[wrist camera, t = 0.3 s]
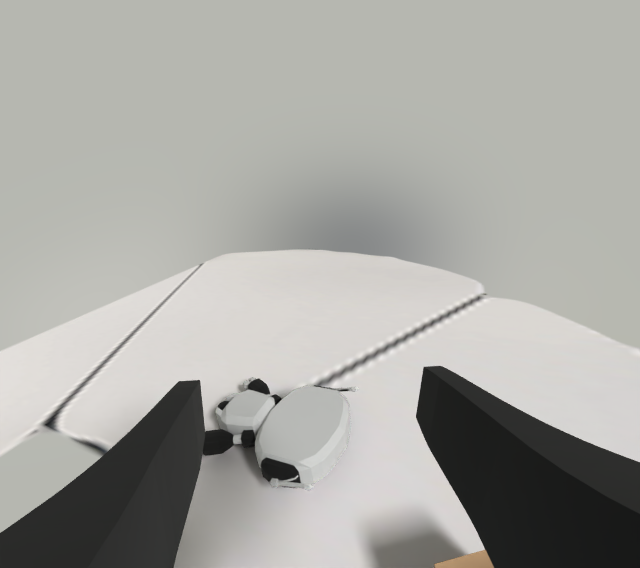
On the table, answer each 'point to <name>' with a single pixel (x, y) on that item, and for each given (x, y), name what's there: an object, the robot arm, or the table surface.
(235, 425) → the robot toy
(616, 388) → the table surface
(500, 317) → the table surface
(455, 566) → the walnut cube
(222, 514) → the table surface
